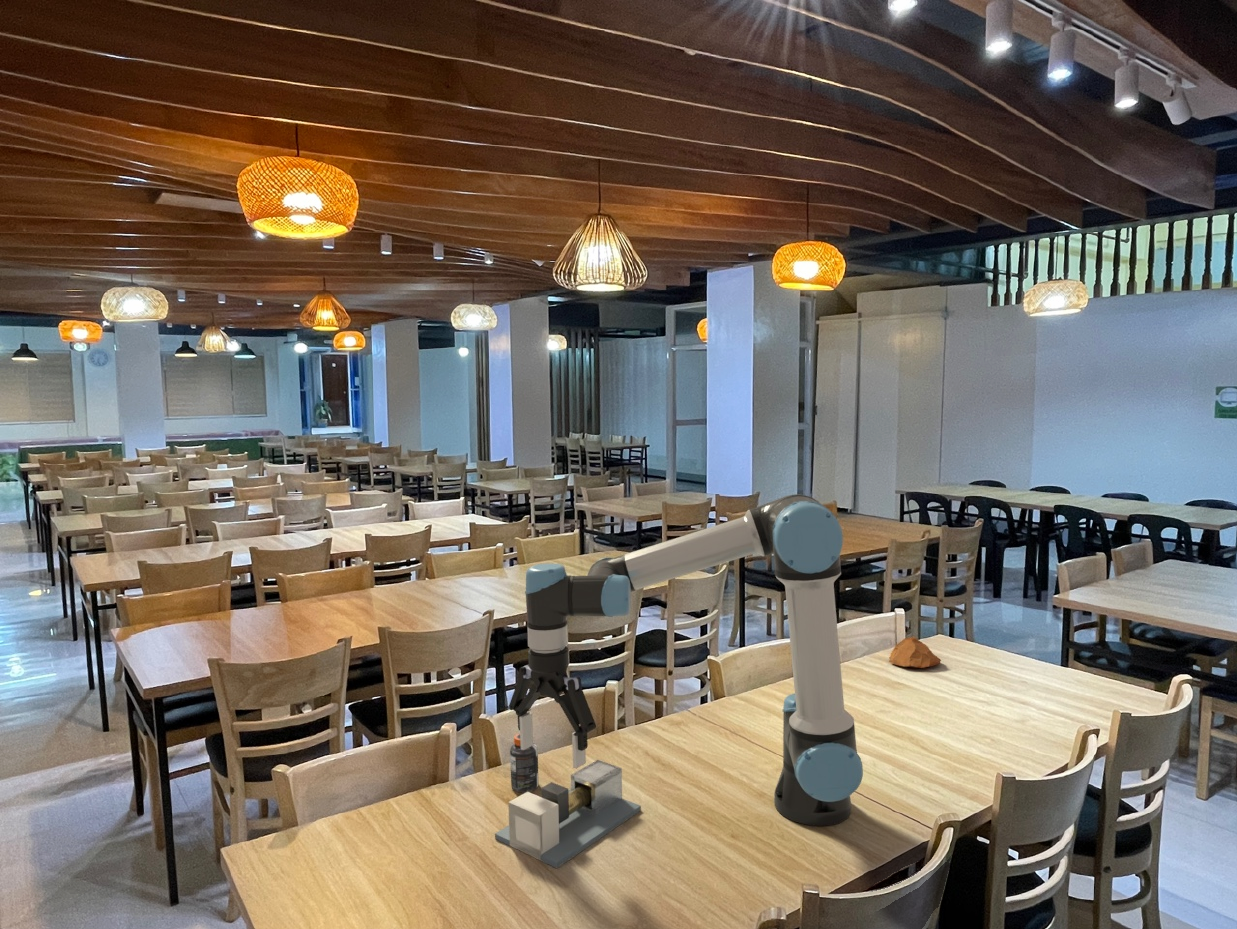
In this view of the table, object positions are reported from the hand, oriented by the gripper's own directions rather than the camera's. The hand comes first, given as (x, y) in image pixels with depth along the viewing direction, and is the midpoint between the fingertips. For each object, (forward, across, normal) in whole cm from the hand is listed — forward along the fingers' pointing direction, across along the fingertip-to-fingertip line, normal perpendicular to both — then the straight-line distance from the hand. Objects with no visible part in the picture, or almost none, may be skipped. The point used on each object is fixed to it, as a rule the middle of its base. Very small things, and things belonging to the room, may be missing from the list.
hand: (552, 756), depth 153 cm
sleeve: (+15, 0, -13) cm, 20 cm away
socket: (+16, +1, +5) cm, 17 cm away
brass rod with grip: (+13, 0, -3) cm, 14 cm away
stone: (+18, -22, -138) cm, 141 cm away
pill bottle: (+16, +18, -10) cm, 26 cm away
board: (+16, 0, -5) cm, 16 cm away
